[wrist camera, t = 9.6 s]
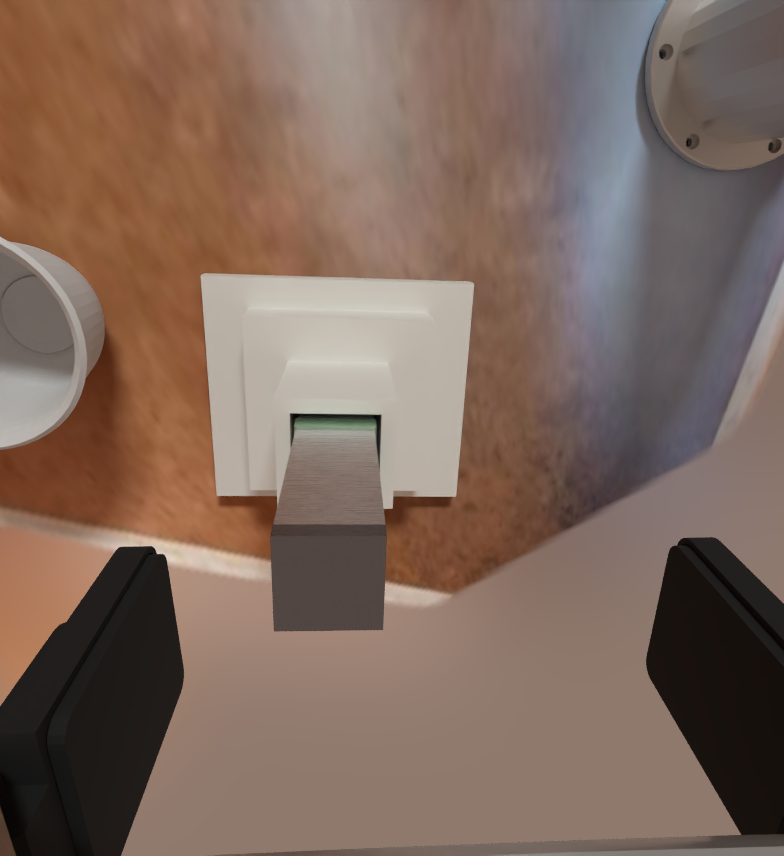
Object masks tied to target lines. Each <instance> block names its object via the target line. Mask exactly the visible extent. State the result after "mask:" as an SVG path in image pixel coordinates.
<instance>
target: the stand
mask: <svg viewBox="0 0 784 856" xmlns="http://www.w3.org/2000/svg"><path fill="white" fill-rule="evenodd" d="M201 287H202V301H203V314H204V328H205V341H206V355H207V369H208V382H209V396H210V410H211V423H212V437H213V451H214V464H215V478H216V491H217V496H277V506H278V502H279V497H280V493H281V489H282V485H283V480H284V476H285V472H286V468H287V464H288V459H289V455H290V451H291V447H292V442H293V438H294V424H295V419H296V418H298V417H299V413H302V414H373V418H374V419H376V426H377V432H376V445H377V454H378V463H379V472H380V481H381V490H382V498H383V507H384V509H393V496H406V497H456V491H457V479H458V467H459V455H460V444H461V432H462V420H463V409H464V397H465V385H466V373H467V362H468V350H469V338H470V327H471V315H472V303H473V291H474V283H472V282H466V281H434V280H402V279H370V278H338V277H306V276H274V275H242V274H211V273H204V274H202V275H201Z"/></svg>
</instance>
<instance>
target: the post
mask: <svg viewBox="0 0 784 856" xmlns="http://www.w3.org/2000/svg"><path fill="white" fill-rule="evenodd" d="M376 432H377V426H376V419H374V418H373V414H302V413H299V417H298V418H296V419H295V424H294V438H293V442H292V447H291V451H290V455H289V459H288V464H287V468H286V472H285V476H284V480H283V485H282V489H281V493H280V497H279V502H278V506H277V510H276V514H275V519H274V523H273V527H272V531H271V536H270V541H271V567H272V592H273V617H274V631H333V630H383V615H384V591H385V567H386V542H387V534H386V525H385V516H384V507H383V498H382V490H381V481H380V472H379V463H378V454H377V445H376Z"/></svg>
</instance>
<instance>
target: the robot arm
mask: <svg viewBox="0 0 784 856" xmlns="http://www.w3.org/2000/svg"><path fill="white" fill-rule="evenodd" d="M659 51H661V52H662V59H661V58H660V57H659ZM645 89H646V97H647V104H648V107H649V110H650V113H651V117H652V120H653V123H654V124H655V126H656V128H657V130H658V132H659V133H660V135H661V137H662V139H663V140H664V141H665V142H666V143H667V144H668V146H669V147H670V148H671V149H672V150H673V151H674V152H675V153H676V154H678V155H679V156H681V157H682V158H683V159H685V160H686V161H688V162H690V163H692V164H695V165H697V166H700V167H702V168H706V169H713V170H719V171H724V170H740V169H746V168H752V167H756V166H759V165H761V164H764V163H767V162H769V161H772V160H774V159H776V158H777V157H779V156H781V155H782V154H784V0H667V1H666V3H665V5H664V7H663V8H662V10H661V12H660V14H659V16H658V18H657V21H656V24H655V26H654V29H653V32H652V34H651V37H650V41H649V46H648V51H647V56H646V63H645ZM686 140H688V146H686ZM768 145H769V148H768ZM646 665H647V671H648V674H649V677H650V679H651V681H652V683H653V684H654V686H655V688H656V689H657V691H658V693H659V695H660V696H661V698H662V700H663V701H664V703H665V705H666V706H667V708H668V710H669V711H670V713H671V715H672V717H673V718H674V720H675V722H676V723H677V725H678V727H679V729H680V730H681V732H682V734H683V736H684V737H685V739H686V740H687V742H688V744H689V745H690V748H691V749H692V751H693V752H694V754H695V756H696V758H697V760H698V761H699V763H700V765H701V766H702V768H703V770H704V771H705V773H706V775H707V777H708V778H709V780H710V782H711V783H712V785H713V787H714V789H715V790H716V792H717V793H718V795H719V797H720V799H721V800H722V802H723V804H724V806H725V807H726V809H727V811H728V812H729V814H730V816H731V818H732V819H733V821H734V822H735V825H736V826H737V828H738V830H739V831H740V833H741V835H729V836H697V837H668V838H667V837H665V838H635V839H602V840H573V841H545V842H518V843H490V844H465V845H439V846H414V847H387V848H364V849H341V850H318V851H296V852H274V853H251V854H229V855H228V854H227V855H209V856H784V604H783V603H782V602H781V601H780V600H779V599H778V598H777V597H776V596H775V595H774V594H773V593H772V592H771V591H770V590H769V589H768V588H767V587H766V586H765V585H764V584H763V583H762V582H761V581H760V580H759V579H758V578H757V577H756V576H755V575H754V574H753V573H752V572H751V571H750V570H749V569H748V568H747V567H746V566H745V565H744V564H743V563H742V562H741V561H740V560H739V559H738V558H737V557H736V556H735V555H734V554H733V553H732V552H731V551H730V550H729V549H728V548H726V546H724V545H723V544H722V543H721V542H720V541H719V540H718V539H716V538H712V537H710V538H683V539H681V540H680V541H679V542H678V545H677V546H673V547H671V549H670V551H669V554H668V558H667V563H666V568H665V572H664V577H663V582H662V587H661V591H660V596H659V601H658V605H657V610H656V615H655V620H654V624H653V629H652V634H651V638H650V643H649V648H648V652H647V659H646ZM183 679H184V668H183V662H182V655H181V649H180V642H179V636H178V630H177V623H176V616H175V610H174V604H173V597H172V591H171V584H170V578H169V572H168V565H167V560H166V557H165V555H163V554H157V553H156V550H155V549H154V547H152V546H144V547H119V548H118V549H117V550H116V551H115V553H114V554H113V556H112V557H111V558H110V560H109V562H108V563H107V564H106V566H105V567H104V569H103V570H102V571H101V573H100V574H99V576H98V577H97V579H96V580H95V582H94V583H93V584H92V586H91V587H90V589H89V590H88V592H87V593H86V595H85V596H84V598H83V599H82V600H81V602H80V603H79V605H78V606H77V608H76V609H75V611H74V612H73V613H72V615H71V616H70V618H69V619H68V621H67V622H65V623H63V624H61V625H59V626H58V627H57V628H56V629H55V630H54V631H53V633H52V634H51V636H50V637H49V638H48V640H47V641H46V643H45V644H44V645H43V647H42V648H41V650H40V651H39V652H38V654H37V655H36V657H35V658H34V659H33V661H32V662H31V664H30V665H29V667H28V668H27V669H26V671H25V672H24V674H23V675H22V676H21V678H20V679H19V681H18V682H17V684H16V685H15V686H14V688H13V689H12V691H11V692H10V694H9V695H8V696H7V698H6V699H5V701H4V702H3V703H2V705H1V706H0V856H121V854H122V851H123V848H124V846H125V843H126V840H127V837H128V835H129V832H130V829H131V826H132V824H133V821H134V818H135V815H136V813H137V810H138V807H139V805H140V802H141V799H142V797H143V794H144V791H145V788H146V786H147V783H148V780H149V777H150V775H151V772H152V769H153V766H154V764H155V761H156V758H157V755H158V753H159V750H160V747H161V745H162V742H163V739H164V737H165V734H166V731H167V729H168V726H169V723H170V720H171V718H172V715H173V712H174V709H175V707H176V704H177V701H178V699H179V696H180V693H181V690H182V685H183Z"/></svg>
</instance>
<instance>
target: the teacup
mask: <svg viewBox="0 0 784 856" xmlns="http://www.w3.org/2000/svg"><path fill="white" fill-rule="evenodd" d="M104 338H105V322H104V315H103V311H102V307H101V305H100V302H99V299H98V297H97V296H96V294H95V292H94V290H93V289H92V287H91V286H90V284H89V283H88V282H87V280H86V279H85V278H84V277H83V276H82V275H81V274H80V273H79V272H78V271H77V270H76V269H75V268H73V267H72V266H71V265H69V264H68V263H67V262H65V261H64V260H62V259H60V258H59V257H57V256H55V255H53V254H51V253H49V252H47V251H44V250H42V249H39V248H36V247H33V246H29V245H25V244H20V243H14V242H8V241H7V240H5V239H3V238H1V237H0V450H4V449H11V448H15V447H20V446H24V445H26V444H29V443H32V442H34V441H37V440H39V439H40V438H42V437H44V436H46V435H48V434H49V433H51V432H52V431H53V430H55V429H56V428H57V427H59V426H60V425H61V424H62V423H63V422H64V421H65V420H66V419H67V418H68V417H69V415H70V414H71V412H72V411H73V410H74V408H75V407H76V405H77V403H78V401H79V398H80V396H81V394H82V390H83V387H84V384H85V378H86V377H87V376H88V374H89V373H90V372H91V370H92V369H93V367H94V366H95V364H96V363H97V361H98V359H99V357H100V354H101V351H102V348H103V344H104Z"/></svg>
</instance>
